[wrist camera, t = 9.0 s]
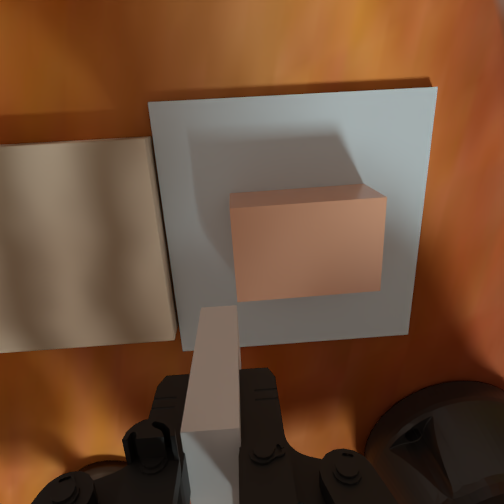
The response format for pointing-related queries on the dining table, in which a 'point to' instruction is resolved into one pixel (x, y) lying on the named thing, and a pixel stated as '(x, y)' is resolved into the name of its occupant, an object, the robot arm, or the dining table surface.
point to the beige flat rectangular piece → (82, 246)
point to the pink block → (307, 241)
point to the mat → (291, 177)
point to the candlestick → (103, 468)
